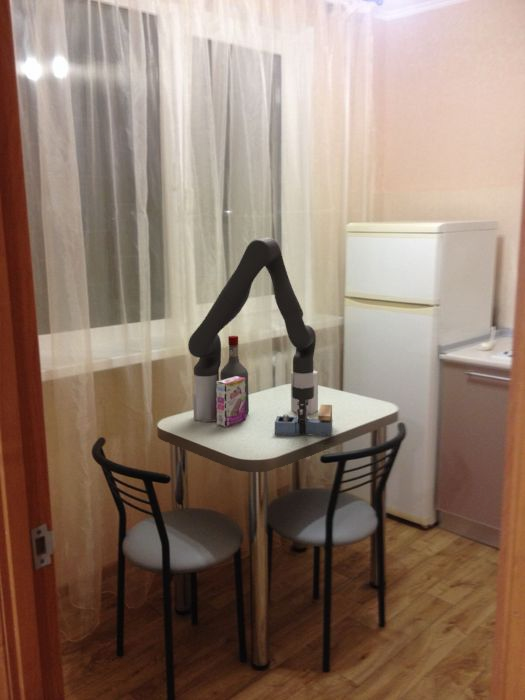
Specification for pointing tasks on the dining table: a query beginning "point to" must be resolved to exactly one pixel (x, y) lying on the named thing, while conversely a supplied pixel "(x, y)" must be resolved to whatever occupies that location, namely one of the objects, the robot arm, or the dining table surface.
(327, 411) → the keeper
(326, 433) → the link
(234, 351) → the liquor
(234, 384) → the candy bar box
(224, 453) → the dining table surface
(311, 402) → the soap bottle
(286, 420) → the cylinder
